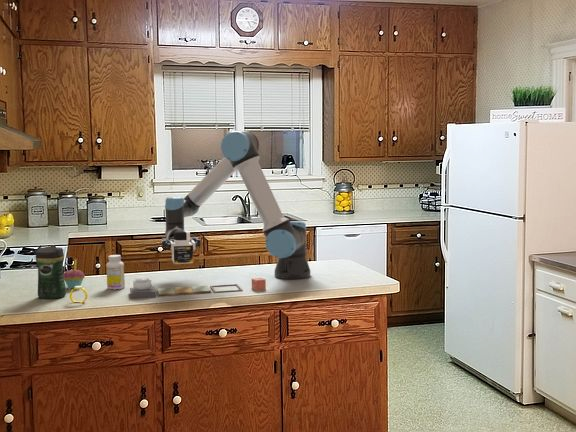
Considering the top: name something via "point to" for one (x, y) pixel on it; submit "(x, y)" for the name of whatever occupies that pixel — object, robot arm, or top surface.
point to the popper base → (142, 293)
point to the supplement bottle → (115, 272)
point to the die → (258, 284)
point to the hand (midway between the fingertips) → (183, 246)
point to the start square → (225, 285)
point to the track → (183, 290)
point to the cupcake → (73, 277)
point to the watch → (81, 289)
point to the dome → (142, 284)
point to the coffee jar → (50, 272)
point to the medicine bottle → (182, 248)
